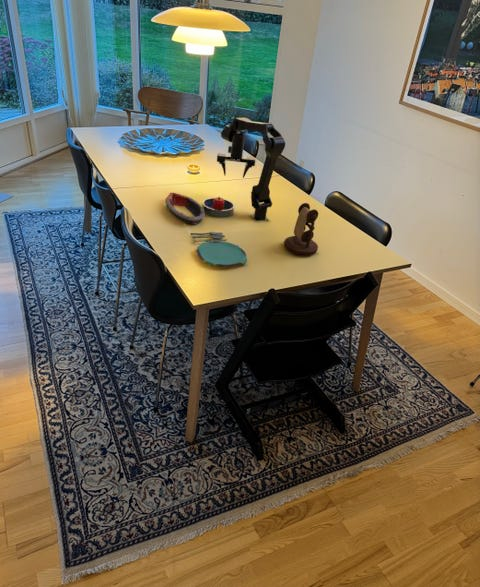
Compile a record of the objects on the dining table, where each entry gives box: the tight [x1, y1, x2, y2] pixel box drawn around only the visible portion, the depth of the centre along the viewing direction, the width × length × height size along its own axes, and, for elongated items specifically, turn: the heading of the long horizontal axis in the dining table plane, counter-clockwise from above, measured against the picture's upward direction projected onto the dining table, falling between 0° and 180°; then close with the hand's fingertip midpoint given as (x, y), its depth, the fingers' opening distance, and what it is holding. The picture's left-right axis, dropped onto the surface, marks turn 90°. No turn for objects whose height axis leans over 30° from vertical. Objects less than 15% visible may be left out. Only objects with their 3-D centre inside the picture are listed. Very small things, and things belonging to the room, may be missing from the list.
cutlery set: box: [190, 231, 248, 267], centre depth 183 cm, size 20×30×2 cm, turn 19°
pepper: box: [213, 196, 225, 210], centre depth 215 cm, size 5×5×7 cm
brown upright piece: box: [283, 202, 319, 256], centre depth 190 cm, size 15×15×20 cm
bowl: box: [201, 197, 235, 219], centre depth 216 cm, size 15×15×4 cm
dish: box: [164, 191, 206, 225], centre depth 210 cm, size 16×31×5 cm, turn 26°
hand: (234, 176), depth 223 cm, fingers open, 9 cm apart
